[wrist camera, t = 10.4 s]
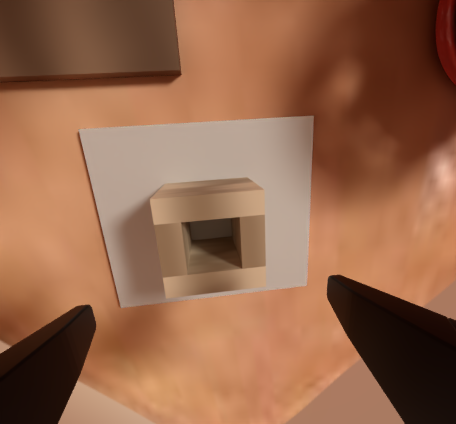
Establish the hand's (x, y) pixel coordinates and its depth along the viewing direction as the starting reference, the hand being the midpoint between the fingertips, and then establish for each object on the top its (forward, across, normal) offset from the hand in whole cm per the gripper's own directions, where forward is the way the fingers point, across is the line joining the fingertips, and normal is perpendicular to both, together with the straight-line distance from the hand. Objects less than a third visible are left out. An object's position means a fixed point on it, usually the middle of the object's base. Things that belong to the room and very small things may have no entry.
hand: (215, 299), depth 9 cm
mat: (+10, 0, 0) cm, 10 cm away
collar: (+9, 0, 0) cm, 9 cm away
